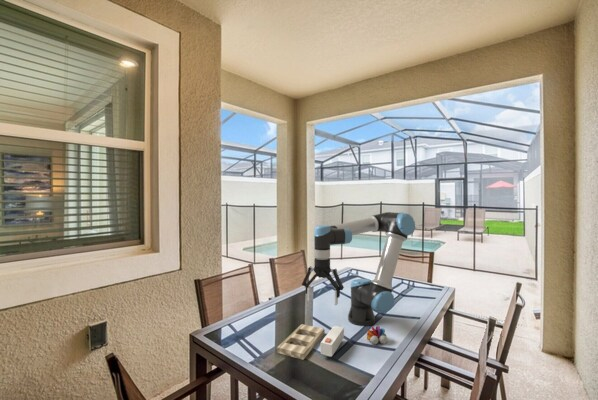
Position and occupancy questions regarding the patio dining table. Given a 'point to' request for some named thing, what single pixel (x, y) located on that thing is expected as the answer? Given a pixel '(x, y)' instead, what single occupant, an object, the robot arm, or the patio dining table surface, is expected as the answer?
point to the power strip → (332, 341)
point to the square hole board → (301, 341)
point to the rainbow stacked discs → (377, 335)
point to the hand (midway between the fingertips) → (322, 302)
